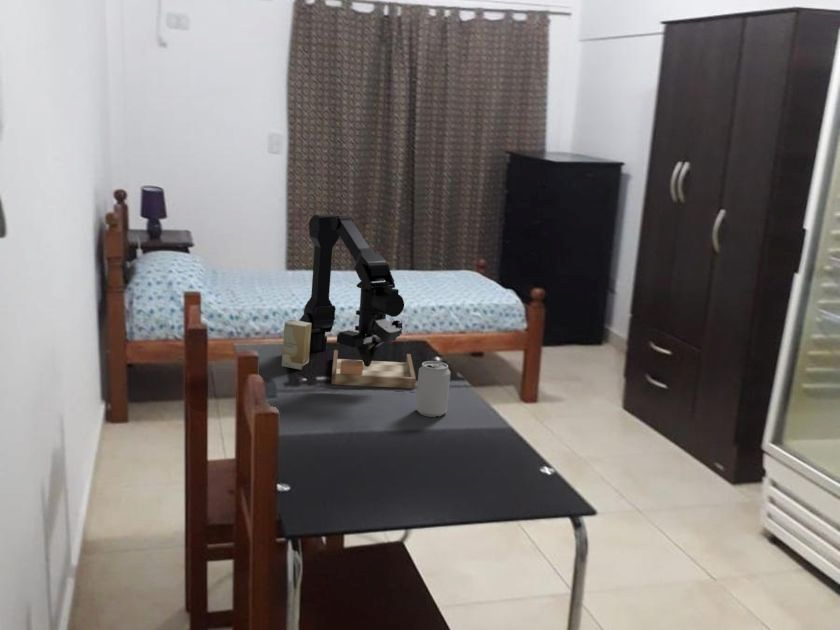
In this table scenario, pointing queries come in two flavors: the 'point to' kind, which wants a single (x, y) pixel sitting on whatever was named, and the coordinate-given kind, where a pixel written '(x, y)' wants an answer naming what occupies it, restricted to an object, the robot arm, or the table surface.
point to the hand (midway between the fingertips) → (367, 366)
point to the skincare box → (296, 344)
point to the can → (433, 388)
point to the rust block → (351, 367)
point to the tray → (377, 374)
